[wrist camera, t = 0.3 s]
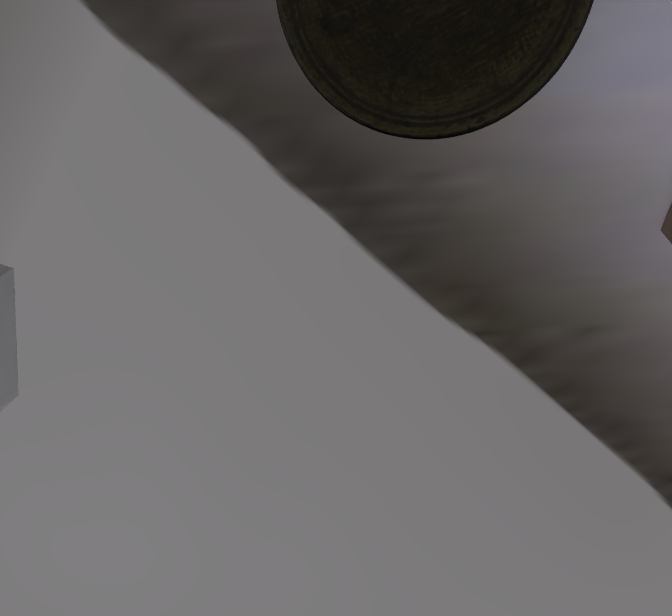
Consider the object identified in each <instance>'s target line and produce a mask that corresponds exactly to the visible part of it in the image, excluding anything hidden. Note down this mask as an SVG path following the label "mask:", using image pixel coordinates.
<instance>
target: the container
mask: <svg viewBox="0 0 672 616" xmlns="http://www.w3.org/2000/svg"><path fill="white" fill-rule="evenodd" d="M593 1H594V0H276V2H277V8H278V13H279V18H280V22H281V25H282V28H283V31H284V34H285V37H286V40H287V42H288V45H289V47H290V49H291V51H292V54H293V56H294V57H295V59H296V61H297V63H298V65H299V66H300V68H301V70H302V71H303V73H304V74H305V76H306V77H307V79H308V80H309V81H310V83H311V84H312V85H313V86H314V88H315V89H316V90H317V91H318V92H319V93H320V94H321V95H322V96H323V97H324V98H325V99H326V100H327V101H328V102H329V103H330V104H331V105H332V106H334V107H335V108H336V109H337V110H339V111H340V112H341V113H343V114H344V115H346V116H347V117H349V118H350V119H352V120H354V121H356V122H357V123H359V124H361V125H363V126H366V127H368V128H370V129H373V130H375V131H378V132H381V133H384V134H388V135H392V136H397V137H403V138H410V139H442V138H449V137H455V136H459V135H463V134H467V133H471V132H474V131H477V130H479V129H482V128H484V127H486V126H489V125H491V124H493V123H495V122H497V121H499V120H501V119H503V118H504V117H506V116H508V115H509V114H511V113H512V112H514V111H515V110H517V109H518V108H520V107H521V106H522V105H523V104H525V103H526V102H527V101H529V100H530V99H531V98H532V97H533V96H534V95H536V94H537V93H538V92H539V91H540V90H541V89H542V88H543V87H544V86H545V85H546V84H547V83H548V82H549V81H550V79H551V78H552V77H553V76H554V75H555V74H556V72H557V71H558V70H559V69H560V67H561V66H562V64H563V63H564V61H565V60H566V59H567V57H568V55H569V54H570V52H571V51H572V49H573V47H574V45H575V44H576V42H577V40H578V38H579V36H580V34H581V32H582V30H583V28H584V25H585V23H586V20H587V18H588V15H589V13H590V10H591V7H592V4H593Z"/></svg>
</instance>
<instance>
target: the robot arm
mask: <svg viewBox="0 0 672 616" xmlns="http://www.w3.org/2000/svg"><path fill="white" fill-rule="evenodd" d="M17 396H18V371H17V343H16V317H15V288H14V268H12V267H8V266H5V265H1V264H0V411H2V410H3V409H4V408H5V407H6V406H7V405H8V404H9V403H11V402H12V401H13V400H14V399H15V398H16V397H17Z"/></svg>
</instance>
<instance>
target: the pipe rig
mask: <svg viewBox="0 0 672 616" xmlns="http://www.w3.org/2000/svg"><path fill="white" fill-rule="evenodd" d="M661 231H662V233H663V234H664V235H665V236H666V238H667V239H668V240H669V241H670V242H671V244H672V204H671V206H670V209H669V211H668V214H667V216H666V219H665V221H664V224H663V226H662V229H661Z"/></svg>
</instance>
